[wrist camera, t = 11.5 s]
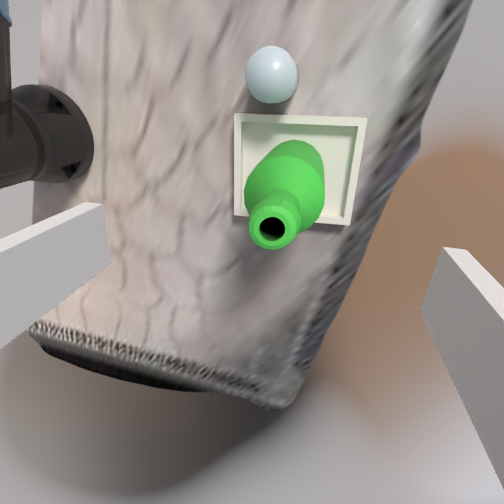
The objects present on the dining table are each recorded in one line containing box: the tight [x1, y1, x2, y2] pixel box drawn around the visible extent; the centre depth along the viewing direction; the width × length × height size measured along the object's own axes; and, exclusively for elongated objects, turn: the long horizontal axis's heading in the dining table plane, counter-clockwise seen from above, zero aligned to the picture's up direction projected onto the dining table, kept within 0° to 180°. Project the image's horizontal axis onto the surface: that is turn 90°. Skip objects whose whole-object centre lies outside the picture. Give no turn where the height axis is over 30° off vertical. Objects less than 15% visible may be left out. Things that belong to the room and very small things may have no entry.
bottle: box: [244, 140, 325, 250], centre depth 37 cm, size 9×9×25 cm
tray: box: [234, 113, 368, 226], centre depth 48 cm, size 18×15×2 cm
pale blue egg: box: [245, 46, 299, 103], centre depth 41 cm, size 6×6×7 cm
